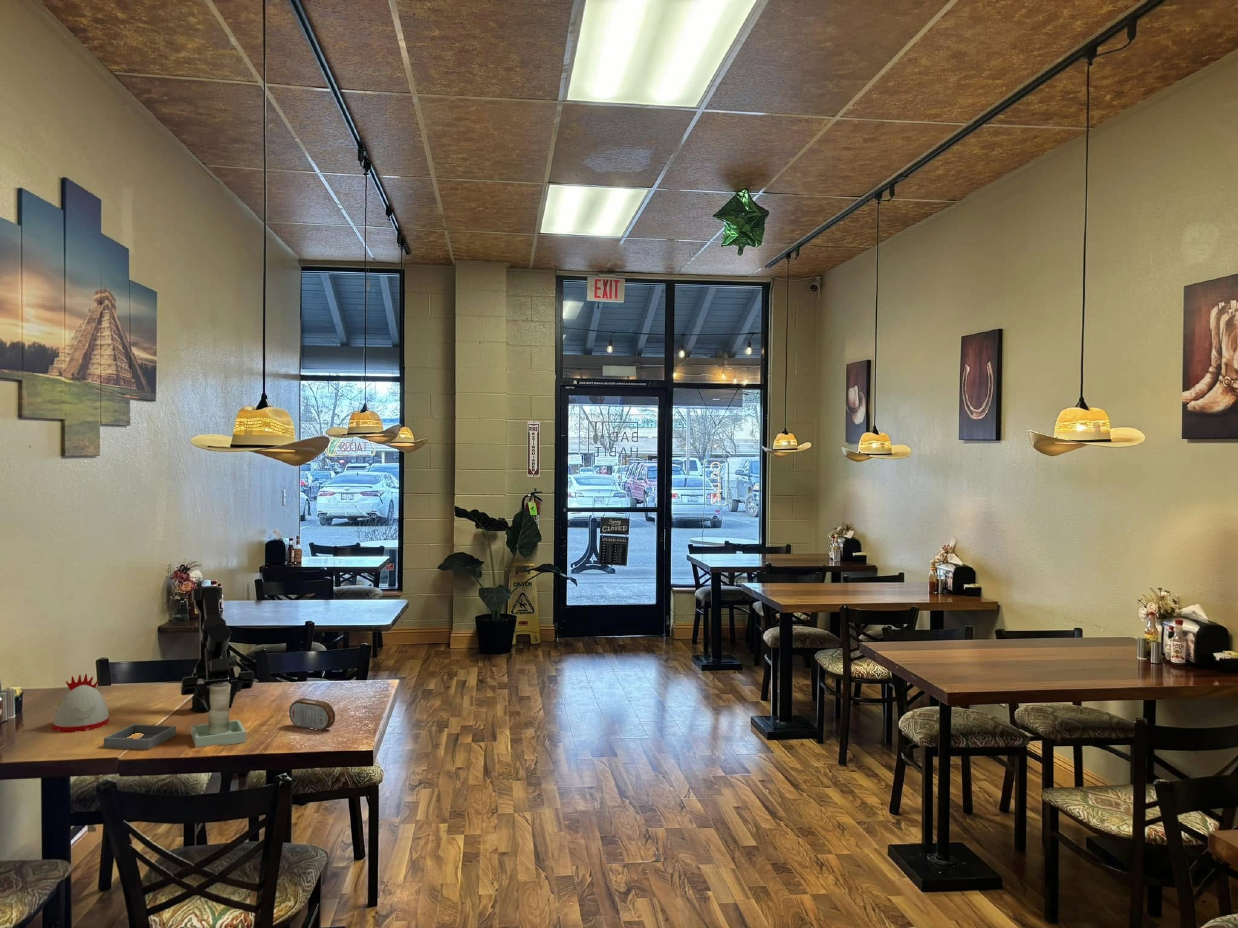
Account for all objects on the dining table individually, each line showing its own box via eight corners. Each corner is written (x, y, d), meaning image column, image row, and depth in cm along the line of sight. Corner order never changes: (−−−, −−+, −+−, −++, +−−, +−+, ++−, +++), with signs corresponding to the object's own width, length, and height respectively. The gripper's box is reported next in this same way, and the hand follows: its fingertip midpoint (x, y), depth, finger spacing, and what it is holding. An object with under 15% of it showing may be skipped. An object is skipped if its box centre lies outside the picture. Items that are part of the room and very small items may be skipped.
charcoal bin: (132, 734, 238) (133, 724, 238) (175, 736, 237) (176, 726, 237) (103, 749, 225) (103, 737, 225) (148, 751, 225) (149, 740, 225)
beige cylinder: (212, 727, 239) (214, 681, 239) (231, 727, 239) (232, 681, 239) (205, 733, 234) (206, 685, 234) (224, 733, 234) (226, 686, 234)
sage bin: (191, 735, 238) (191, 725, 238) (239, 729, 245) (239, 719, 245) (195, 748, 228) (196, 737, 228) (245, 742, 234) (246, 731, 234)
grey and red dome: (51, 722, 246) (53, 672, 247) (105, 715, 255) (107, 666, 255) (54, 735, 235) (56, 682, 236) (111, 727, 244) (113, 676, 244)
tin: (335, 730, 248) (336, 701, 248) (328, 733, 245) (329, 704, 245) (294, 723, 253) (295, 696, 253) (286, 726, 250) (287, 698, 250)
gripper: (183, 648, 235) (185, 697, 226) (254, 643, 245) (259, 689, 236) (179, 670, 242) (181, 718, 232) (249, 664, 252) (253, 710, 242)
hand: (219, 708), depth 235 cm, fingers closed on beige cylinder, 5 cm apart
